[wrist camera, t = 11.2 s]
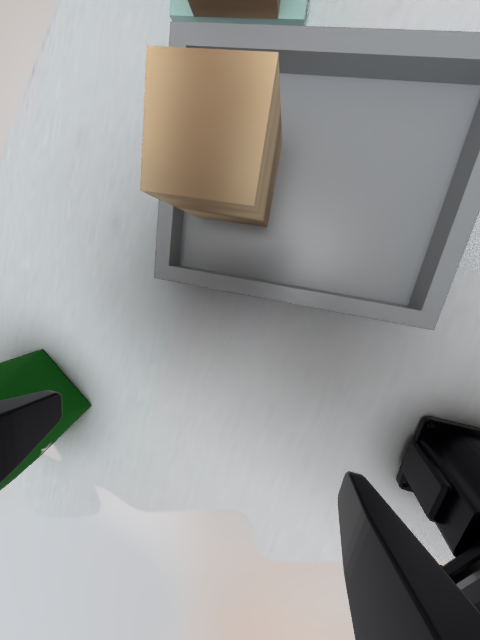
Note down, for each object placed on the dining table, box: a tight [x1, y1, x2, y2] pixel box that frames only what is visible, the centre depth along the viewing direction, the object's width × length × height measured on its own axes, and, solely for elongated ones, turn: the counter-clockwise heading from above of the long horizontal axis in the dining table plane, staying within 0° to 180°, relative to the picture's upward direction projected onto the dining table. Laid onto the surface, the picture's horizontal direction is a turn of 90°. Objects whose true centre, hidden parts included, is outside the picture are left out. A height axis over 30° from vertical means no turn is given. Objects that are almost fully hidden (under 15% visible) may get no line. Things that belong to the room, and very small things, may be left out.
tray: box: [154, 22, 480, 330], centre depth 15 cm, size 18×14×2 cm
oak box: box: [140, 46, 282, 227], centre depth 13 cm, size 5×5×7 cm
